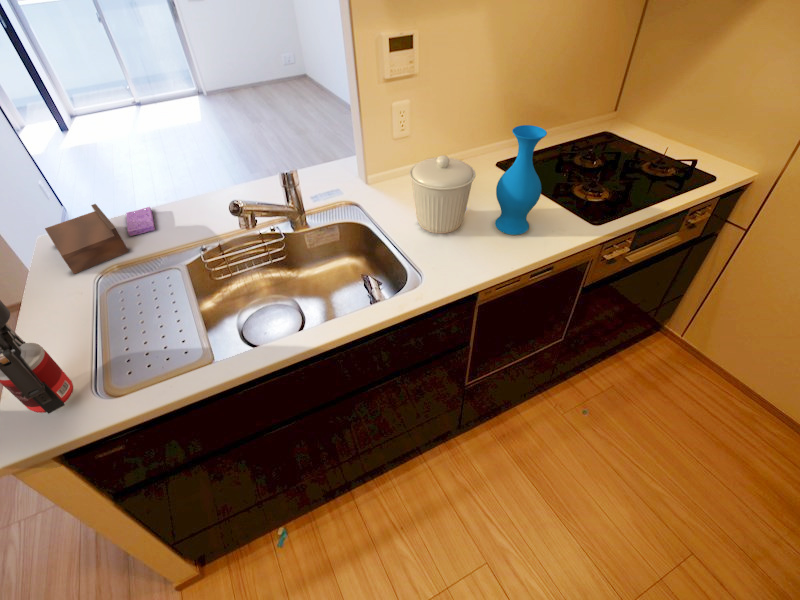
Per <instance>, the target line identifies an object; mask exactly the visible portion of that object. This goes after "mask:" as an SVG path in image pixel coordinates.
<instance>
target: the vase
mask: <svg viewBox="0 0 800 600" xmlns="http://www.w3.org/2000/svg"><path fill="white" fill-rule="evenodd" d="M511 132H512V134H513V135H514V136H515V138H516V141H517V143H518V145H517V146H518V150H517V154H516V158H515V160H514V162H513V163H512V165H511V166H510V167H509V168H508V169H507V170H505V172H504V173H503V174H502V175H501V176H500V178H499V179H498V181H497V184H496V188H495V195H496V200H497V202H498V205H499V208H500V212H501V213H500V215H499V217H497V219H495V222H494V226H495V228H496V229H497V230H498V231H500V232H501V233H502V234H506V235H510V236H519V235H523V234H525V233H527V231H529V229H530V224H529V222H528V220H527V219H528V218H527V217H528V215H529V213H530V212H531V210H532V209H533V208H534V207H535V206H536V205H537V203H538V202H539V200H540V197H541V195H542V182H541V180H540V179H541V178H540V177H539V175H538V174H537V171H536V169H535V167H534V161H533V156H534V152H535V149H536V146H537V145H538V143H539V142H540V141H541V140H542V139H544V138H545V137H547V135H548V132H547V130H546V129H544V128H542V127H540V126H537V125H531V124H524V125H517V126H515V127H513V128H512V129H511Z"/></svg>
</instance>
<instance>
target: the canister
mask: <svg viewBox="0 0 800 600" xmlns="http://www.w3.org/2000/svg"><path fill="white" fill-rule="evenodd" d="M476 174H477V173H476V170H475V169H474V168H473V166H471V165H470V164H469V163H466V162H465V161H463V160H461V159H458V158H453V157H449V156H447V155H446V154H445V155H443V154H441V155H439V156H436V157H430V158H426V159H423V160H421V161H419V162H416V163H415V164H414V165H412V167H410V169H409V173H408V175H409V178H410V180H411V183H412V184H411V185H412V191H413V192H412V193H413V201H414V202H413V203H414V210H415V215H416V220H417V223H418V225H419V226H420V227H421V228H422V229H423V230H425V231H426V232H429V233H433V234H443V235H444V234H448V233H451V232H454V231H456V230H457V229H458V228H459V227H461V225H462V223H463V221H464V218H465V214H466V211H467V208H468V207H467V206H468V202H469V197H470V193H471V189H472V185H473V182H474V180H475V179H476V177H477V175H476Z"/></svg>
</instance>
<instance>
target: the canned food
mask: <svg viewBox="0 0 800 600" xmlns="http://www.w3.org/2000/svg"><path fill="white" fill-rule="evenodd" d="M19 348H20V349H21V356H22V358H23V359H24V360H25V362H26V363H27V364H28V365H29V367H30V368H31V369H32V371H33V372H34V373H35V374H36V375H37V377H38V378H39V379H40V381H41V382H45V383H46V384H47V385H48V387H49V388H50V389H51V390H52V391H53V392H54V393H55V394H56V395H57V396H58V397H59V398H60V399H61V400H62V401H63V402H64V404H65V403H66V402H67V401H68V400H69V399H70V397H71V396H72V394H73V392H74V384H73V380H72V379H71V378H70V377H69V376H68V375H67V374H66V373H65V371H63V369H62V368H61V367H60V366H59V365H58V364H57V362H56V361H55V359H53V357H52V356H51V354H49V353H48V352H47V350H45V348H44V347H43V346H41V344H38V343H35V342H26V343H24V344H21V346H20V347H19ZM14 351H15V350H14V349H13V350H12V352H14ZM0 384H1V385H2V386H3V387H4V388H5V389H6V390H7V391H8V392H9V393H10V394H12V395H13V397H15V399H16V400H18V401H19V402H20V403H21V404H22V405H24V407H25V408H26V409H28V410H29V411H32V412H34V413H38V414H43V413H47V412H46V411H45V410H44V409H43V408H42V407H41V406H40V405H39V404H38V403H37V402H36V401H34V400H33V399H32V398H30V399H27V398H25V397H24V398H23V397H21V394H22V392H21V391H20V390H19V389H18V388H17V387H16V386H15V385H14V384H13V383H12V382H11V381H10V380H9V378H8V377H7V376H6V375H5V374H4V373H3V372H2V371H1V370H0Z"/></svg>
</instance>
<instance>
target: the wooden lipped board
mask: <svg viewBox="0 0 800 600" xmlns="http://www.w3.org/2000/svg"><path fill="white" fill-rule="evenodd" d="M90 206H91V208H92V209H93V211H91V212H88V213H86V214H82V215H80V216H79V215H78V216H76V217H75V218H70V219H67V220H65V221H62V222H59V223H56V224H54V225H50V226H48V227H45V228H44V230H45V231H46V233H47V235H48V237H49V238H50V240H51V241H52V243H53V245H54V246H55V248H56V249H57V251H58V253H59V255H60V257H61V258H62V259H63V261H64V262H65V263H66V265H67V266H68V268H69V269H70V271H71V272H72V274H73V275H75V274H78V273H80V272H82V271H85V270H87V269H90V268H94V267H95V266H97V265H99V264H103V263H106V262H108V261H110V260H112V259H115V258H117V257H120V256H122V255H124V254H127V253H129V252H130V251H129V249H128V247H127V246H126V244H125V242H124V240H123V238H122V236H121V235H120V233H119V231H118V228H117V227H116V226H115V225H114V224H113V222H112V221H111V220H110V219H109V218H108V217H107V216H106V215H105V213H104V212H103V211H102V209H100V207H99V206H98V205H97V204H96V203H94V204H91V205H90Z"/></svg>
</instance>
